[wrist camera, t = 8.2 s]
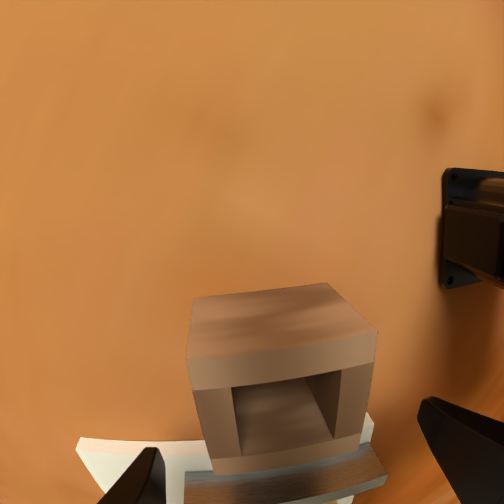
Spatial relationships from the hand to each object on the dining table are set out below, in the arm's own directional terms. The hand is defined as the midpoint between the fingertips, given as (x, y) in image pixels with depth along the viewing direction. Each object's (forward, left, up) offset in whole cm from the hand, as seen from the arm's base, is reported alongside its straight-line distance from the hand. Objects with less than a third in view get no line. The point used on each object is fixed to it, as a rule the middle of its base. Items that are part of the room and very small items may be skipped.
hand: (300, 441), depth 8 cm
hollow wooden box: (0, 0, -6) cm, 6 cm away
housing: (0, +13, -5) cm, 14 cm away
